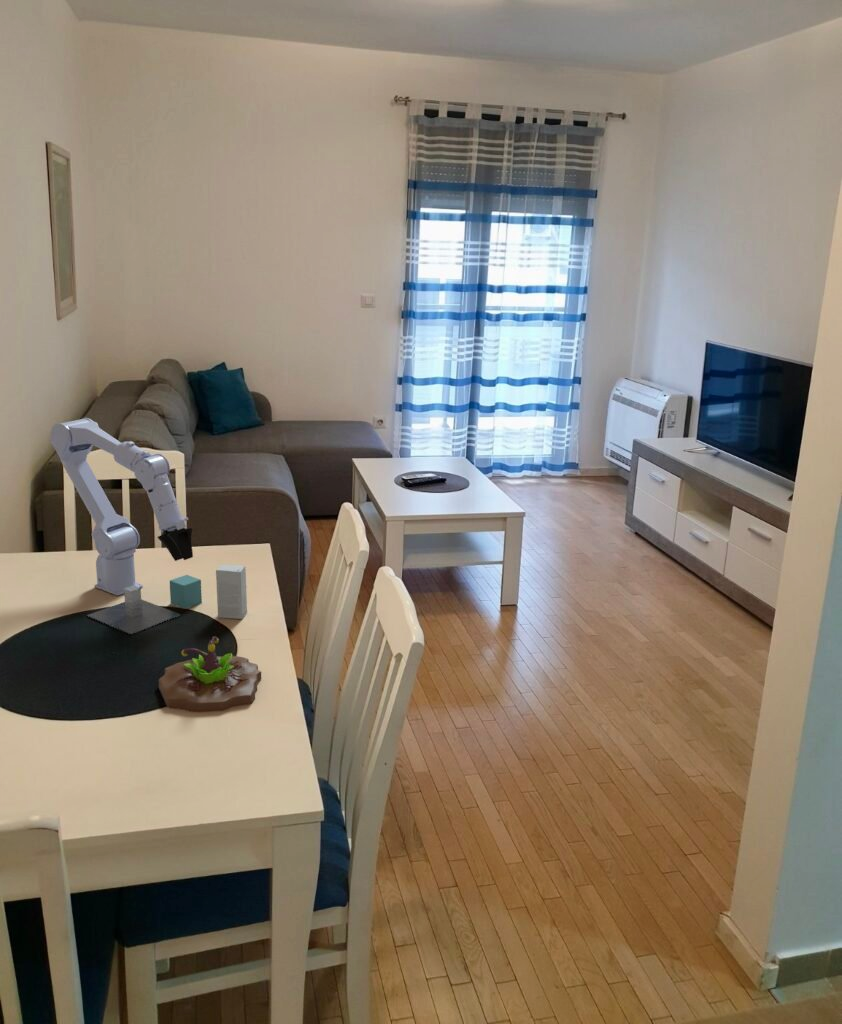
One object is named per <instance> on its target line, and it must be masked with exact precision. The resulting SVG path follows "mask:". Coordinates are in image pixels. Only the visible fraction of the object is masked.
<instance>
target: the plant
mask: <svg viewBox="0 0 842 1024" xmlns="http://www.w3.org/2000/svg"><path fill="white" fill-rule="evenodd" d="M219 639H220V638H218V637H217V636H212V637H211V639H210V640H209V641H208V644H207V650H208V652H204V651H203V650H200V649H199V648H184V649H182V651H181V656H182V657H188V656H189V652H194V653H197V654H198V658H196V657H192V658H191V659H188V660H185V661H181V662H176V663H174V664H172V665H170V666H168V667H167V666H166V667H165V668H164V674H163V675H162V676H161V677H159V678H158V690H159V691H160V694H161V696H162V698H163V700H164V703H165V705H166V707H167V708H168V709H175V710H182V711H183V710H184V711H187V712H192V713H193V712H194V713H209V712H224V711H227V710H229V709H231V708H234V707H235V708H236V707H240V706H247V705H252V704H253V703H254V701H255V700H256V694H257V691H258V683H259V682H260V681H262V671H261V670H259V666H258V664H257V663H253V662H250V661H249V658H246V657H244V656H243V657H242V656H236V655H233V653H231V652H230V653H226V654H224V655H223V656H217V654H216V644H218V643H219V642H220V640H219Z"/></svg>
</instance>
